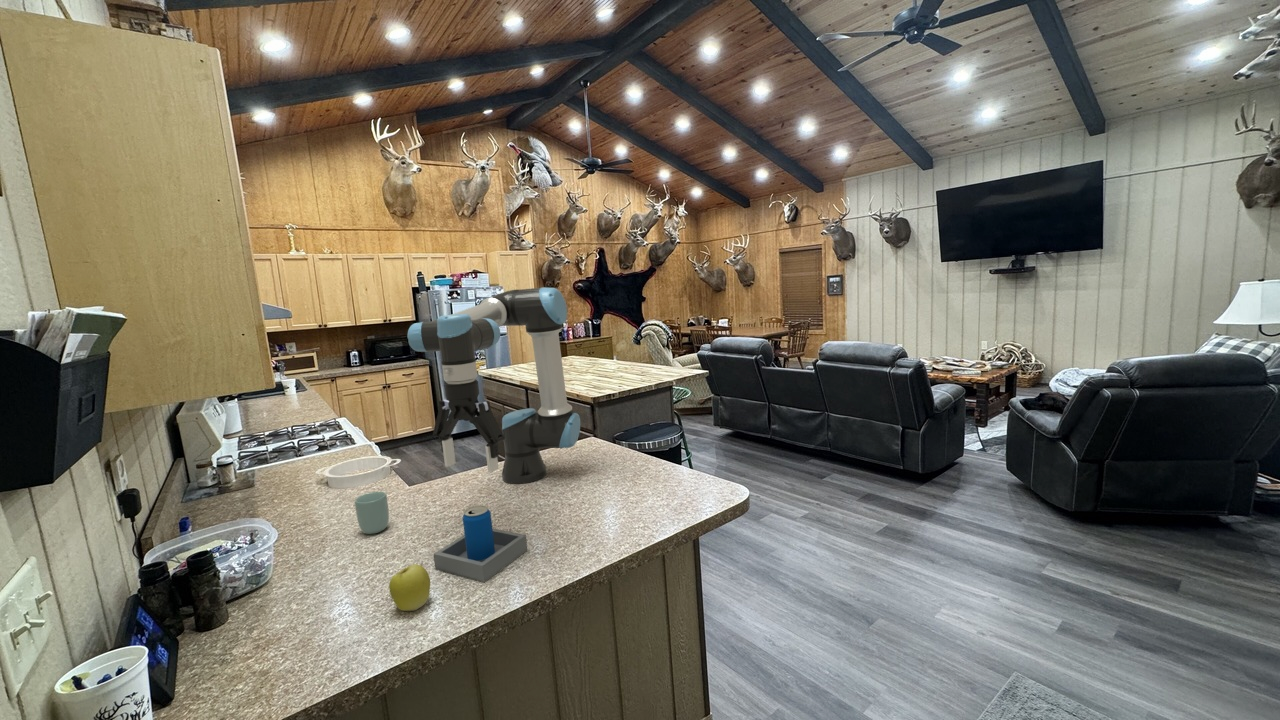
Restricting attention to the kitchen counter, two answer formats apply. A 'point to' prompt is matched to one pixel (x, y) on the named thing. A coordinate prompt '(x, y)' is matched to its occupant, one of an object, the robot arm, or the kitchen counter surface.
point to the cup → (372, 512)
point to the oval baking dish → (357, 464)
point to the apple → (410, 588)
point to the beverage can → (478, 533)
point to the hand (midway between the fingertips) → (471, 467)
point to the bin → (458, 563)
